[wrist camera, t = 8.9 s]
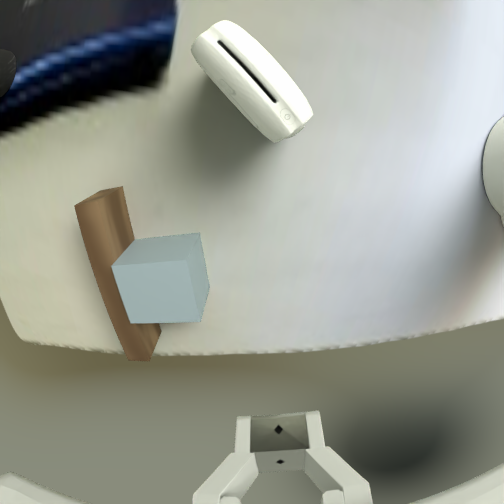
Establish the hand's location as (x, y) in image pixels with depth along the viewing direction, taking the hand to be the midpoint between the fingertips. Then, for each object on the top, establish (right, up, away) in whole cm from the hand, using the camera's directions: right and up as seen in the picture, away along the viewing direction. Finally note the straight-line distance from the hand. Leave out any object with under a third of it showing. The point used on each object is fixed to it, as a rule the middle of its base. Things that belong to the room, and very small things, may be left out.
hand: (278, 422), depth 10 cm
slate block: (-10, +5, +26) cm, 28 cm away
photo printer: (-1, +22, +18) cm, 28 cm away
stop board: (-16, +4, +26) cm, 31 cm away
